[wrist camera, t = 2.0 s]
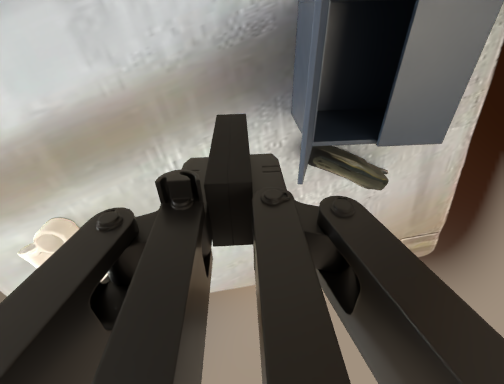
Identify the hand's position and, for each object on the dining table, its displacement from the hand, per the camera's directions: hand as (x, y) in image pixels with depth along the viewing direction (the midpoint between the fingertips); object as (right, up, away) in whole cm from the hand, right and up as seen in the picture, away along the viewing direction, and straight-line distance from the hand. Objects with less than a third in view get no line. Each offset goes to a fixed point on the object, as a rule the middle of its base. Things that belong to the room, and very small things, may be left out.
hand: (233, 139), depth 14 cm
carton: (+13, +14, +18) cm, 26 cm away
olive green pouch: (+16, +2, +27) cm, 31 cm away
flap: (+6, +5, +6) cm, 10 cm away
